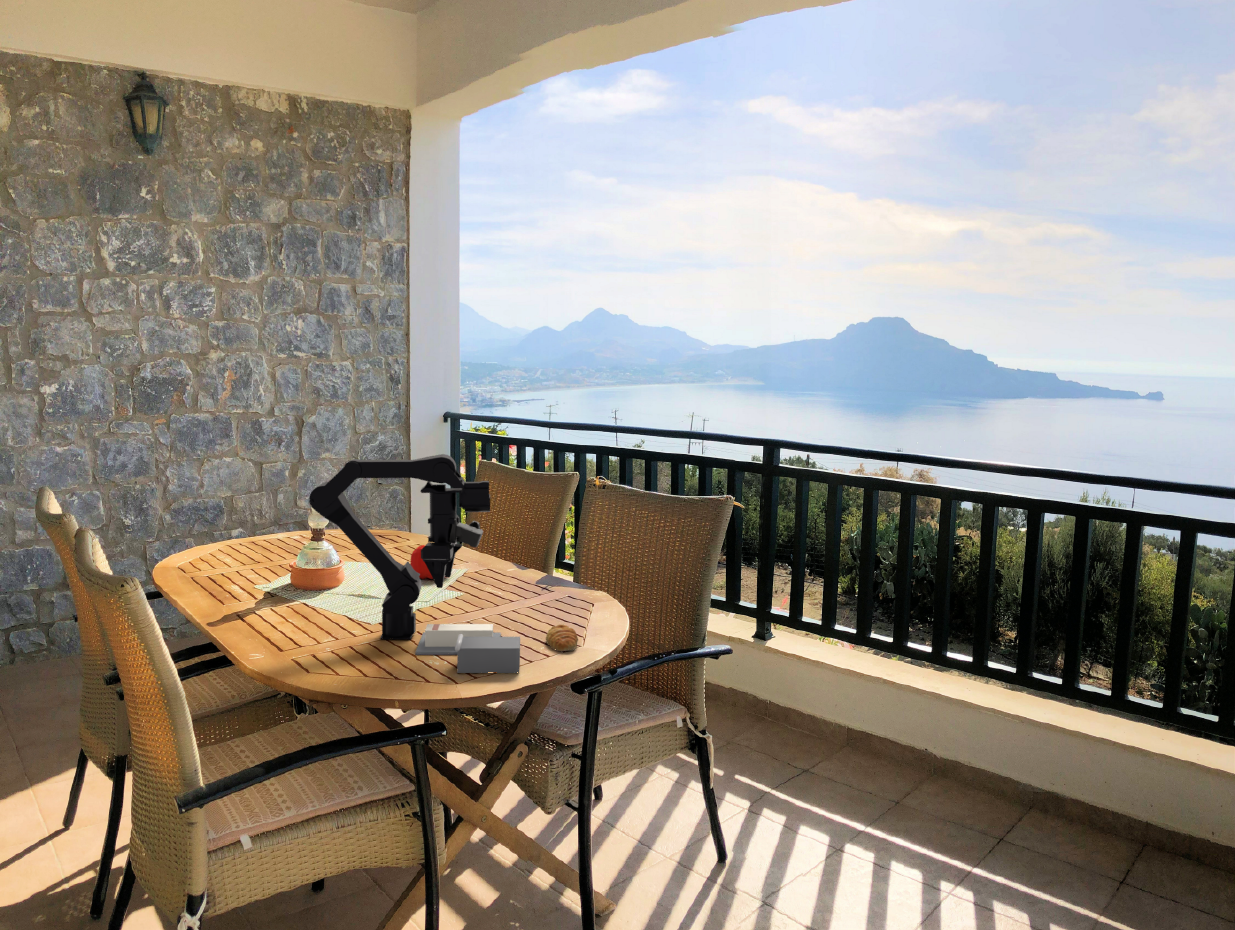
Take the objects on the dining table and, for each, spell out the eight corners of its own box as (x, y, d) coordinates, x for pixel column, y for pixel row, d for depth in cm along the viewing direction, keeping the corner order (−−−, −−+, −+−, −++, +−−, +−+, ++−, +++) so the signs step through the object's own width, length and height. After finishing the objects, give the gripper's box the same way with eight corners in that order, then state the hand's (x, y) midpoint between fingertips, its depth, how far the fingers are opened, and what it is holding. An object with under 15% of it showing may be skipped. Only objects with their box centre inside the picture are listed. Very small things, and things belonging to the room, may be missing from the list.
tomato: (444, 583, 235) (444, 550, 234) (402, 580, 237) (403, 547, 236) (457, 574, 245) (458, 543, 244) (417, 571, 247) (417, 540, 246)
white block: (424, 646, 180) (425, 630, 180) (427, 639, 185) (427, 623, 184) (492, 646, 182) (492, 630, 181) (492, 639, 186) (493, 623, 186)
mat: (415, 654, 177) (415, 651, 177) (423, 634, 190) (423, 632, 190) (498, 654, 179) (498, 651, 178) (500, 635, 191) (500, 632, 191)
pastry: (582, 652, 182) (583, 635, 182) (551, 654, 180) (552, 637, 180) (573, 639, 191) (573, 622, 191) (543, 640, 189) (543, 624, 189)
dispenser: (454, 673, 167) (454, 646, 166) (458, 660, 174) (458, 633, 173) (519, 673, 168) (519, 646, 167) (519, 660, 175) (520, 633, 175)
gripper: (473, 520, 178) (474, 593, 180) (486, 505, 196) (486, 572, 198) (419, 520, 178) (420, 593, 180) (437, 505, 196) (438, 572, 198)
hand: (444, 582), depth 189 cm, fingers open, 9 cm apart
